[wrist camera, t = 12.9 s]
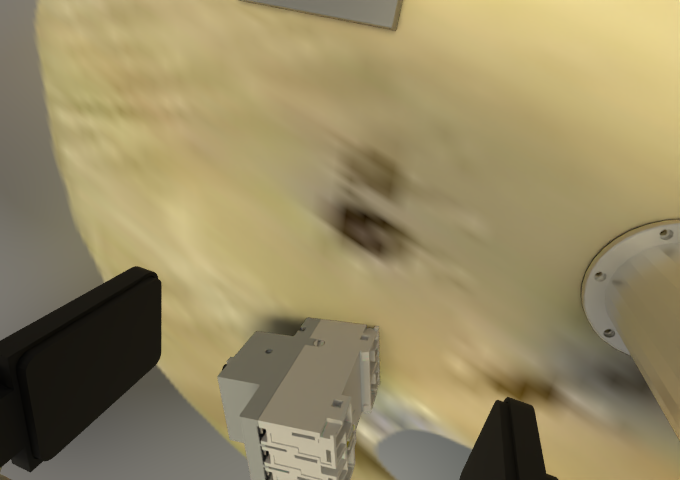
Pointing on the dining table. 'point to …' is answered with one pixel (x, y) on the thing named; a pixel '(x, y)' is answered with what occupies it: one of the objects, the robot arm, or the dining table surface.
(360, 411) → the circuit breaker
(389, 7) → the plate
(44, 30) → the dining table surface
